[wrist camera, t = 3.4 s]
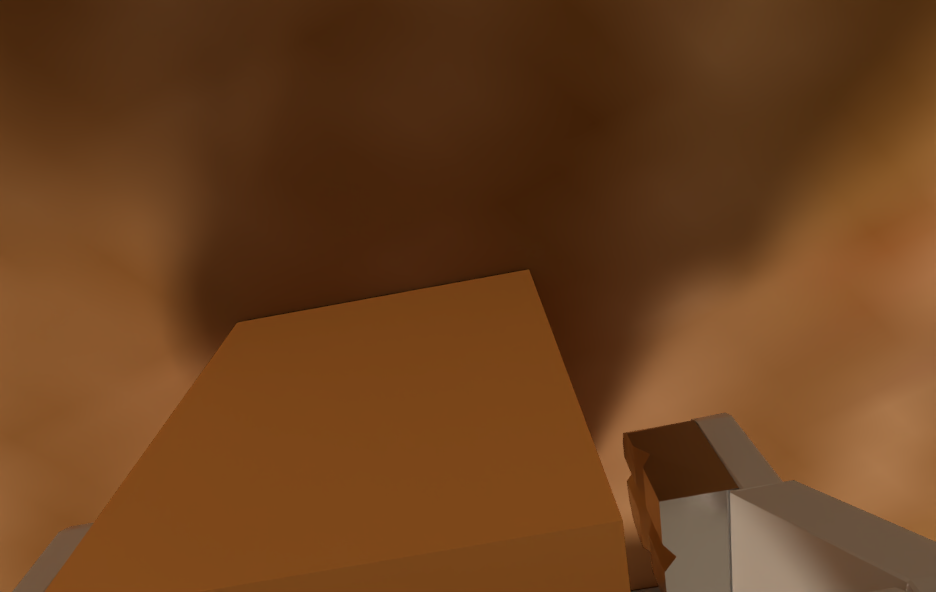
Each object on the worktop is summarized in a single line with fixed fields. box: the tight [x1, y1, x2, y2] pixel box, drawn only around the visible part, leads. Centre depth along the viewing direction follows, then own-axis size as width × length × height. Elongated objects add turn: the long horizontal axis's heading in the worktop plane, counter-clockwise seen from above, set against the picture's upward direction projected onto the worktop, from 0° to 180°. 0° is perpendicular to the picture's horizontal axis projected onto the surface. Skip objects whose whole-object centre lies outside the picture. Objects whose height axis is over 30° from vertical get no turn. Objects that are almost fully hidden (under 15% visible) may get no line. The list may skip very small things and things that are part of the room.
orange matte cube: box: [45, 269, 631, 592], centre depth 9 cm, size 5×5×6 cm
